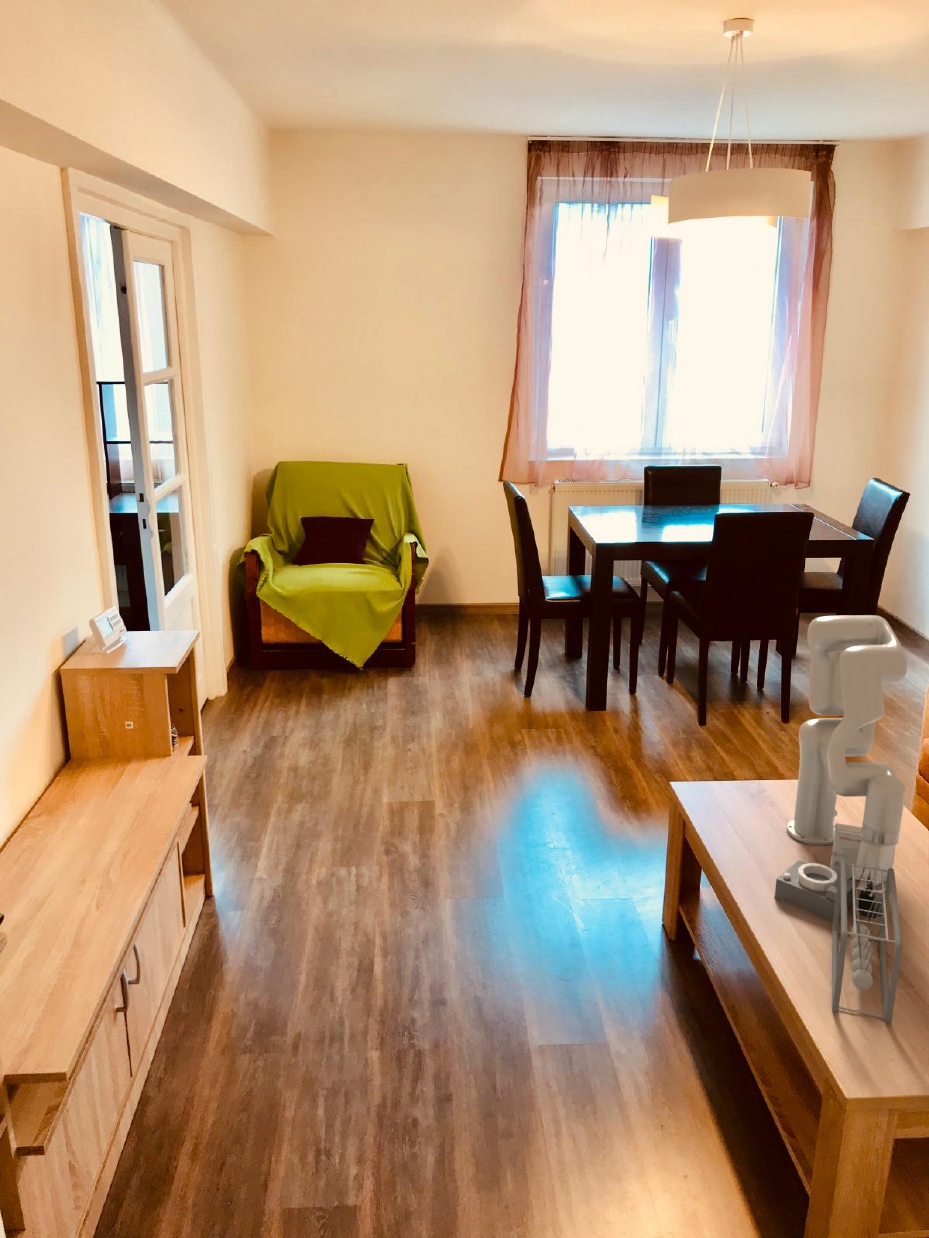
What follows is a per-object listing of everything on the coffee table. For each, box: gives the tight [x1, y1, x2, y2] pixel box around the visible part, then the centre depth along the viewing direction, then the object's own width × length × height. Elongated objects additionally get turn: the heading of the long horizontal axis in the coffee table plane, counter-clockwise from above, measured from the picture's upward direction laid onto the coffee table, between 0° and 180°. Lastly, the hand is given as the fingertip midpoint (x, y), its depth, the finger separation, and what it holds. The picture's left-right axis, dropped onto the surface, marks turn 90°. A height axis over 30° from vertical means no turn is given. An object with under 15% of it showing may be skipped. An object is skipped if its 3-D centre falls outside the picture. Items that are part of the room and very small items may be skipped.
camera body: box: [774, 860, 858, 924], centre depth 221 cm, size 11×14×7 cm
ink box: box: [829, 822, 863, 882], centre depth 230 cm, size 9×5×12 cm, turn 71°
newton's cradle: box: [831, 860, 903, 1024], centre depth 194 cm, size 30×10×18 cm, turn 160°
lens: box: [858, 879, 886, 920], centre depth 216 cm, size 5×5×8 cm
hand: (870, 903), depth 216 cm, fingers closed on lens, 4 cm apart
